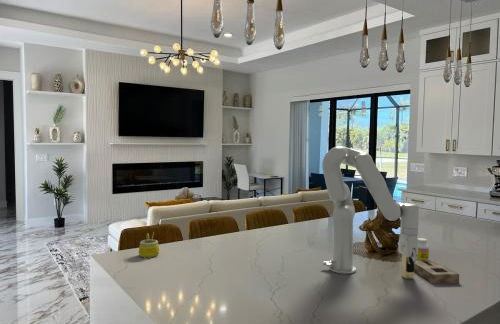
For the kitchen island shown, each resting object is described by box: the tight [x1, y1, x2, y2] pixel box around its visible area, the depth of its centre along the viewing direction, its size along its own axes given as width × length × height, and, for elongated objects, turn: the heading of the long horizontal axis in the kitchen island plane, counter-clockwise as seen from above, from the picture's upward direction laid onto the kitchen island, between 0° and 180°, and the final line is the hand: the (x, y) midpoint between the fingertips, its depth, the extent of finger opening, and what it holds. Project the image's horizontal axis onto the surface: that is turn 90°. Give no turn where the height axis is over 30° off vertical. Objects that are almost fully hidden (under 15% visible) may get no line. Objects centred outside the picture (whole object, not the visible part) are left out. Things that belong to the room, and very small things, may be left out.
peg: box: [400, 255, 415, 280], centre depth 174 cm, size 4×4×10 cm
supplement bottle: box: [416, 237, 430, 261], centre depth 194 cm, size 7×7×13 cm
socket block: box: [414, 259, 460, 285], centre depth 177 cm, size 12×20×4 cm, turn 3°
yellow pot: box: [138, 231, 160, 259], centre depth 207 cm, size 13×11×12 cm
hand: (407, 269), depth 174 cm, fingers closed on peg, 4 cm apart
